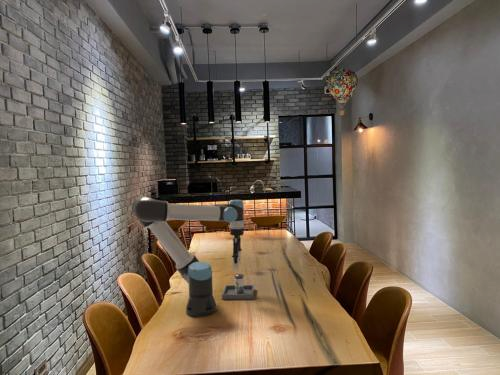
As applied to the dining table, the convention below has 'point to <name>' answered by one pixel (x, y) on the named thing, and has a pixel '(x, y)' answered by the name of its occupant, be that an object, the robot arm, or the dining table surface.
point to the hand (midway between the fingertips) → (237, 265)
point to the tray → (230, 294)
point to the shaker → (239, 283)
